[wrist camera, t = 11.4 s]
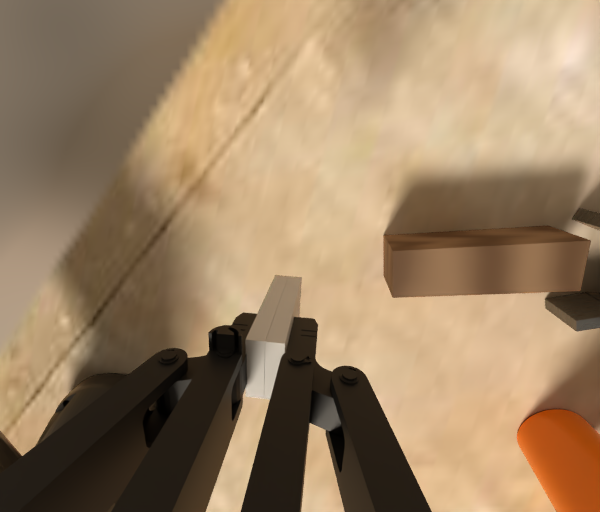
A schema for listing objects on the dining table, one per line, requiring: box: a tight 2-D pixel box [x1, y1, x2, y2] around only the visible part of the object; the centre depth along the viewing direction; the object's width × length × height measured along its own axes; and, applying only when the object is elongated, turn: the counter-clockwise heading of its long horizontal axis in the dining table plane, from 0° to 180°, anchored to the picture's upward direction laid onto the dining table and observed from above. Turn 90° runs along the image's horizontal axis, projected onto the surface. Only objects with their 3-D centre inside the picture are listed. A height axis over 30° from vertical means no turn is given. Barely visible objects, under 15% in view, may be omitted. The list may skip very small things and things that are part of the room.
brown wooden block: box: [384, 226, 591, 298], centre depth 27 cm, size 14×4×5 cm, turn 95°
